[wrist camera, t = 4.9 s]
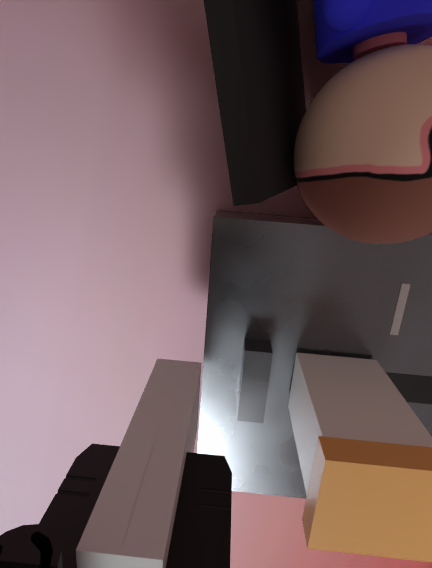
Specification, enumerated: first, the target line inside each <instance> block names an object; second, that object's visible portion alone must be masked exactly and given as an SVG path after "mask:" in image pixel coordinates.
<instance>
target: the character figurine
mask: <svg viewBox="0 0 432 568" xmlns="http://www.w3.org/2000/svg"><path fill="white" fill-rule="evenodd" d="M204 5H205V12H206V19H207V26H208V32H209V39H210V46H211V53H212V60H213V67H214V74H215V80H216V87H217V94H218V101H219V108H220V115H221V122H222V128H223V135H224V142H225V149H226V156H227V163H228V170H229V176H230V183H231V190H232V197H233V204H234V206H238V205H246V204H254V203H260V202H262V201H264V200H266V199H268V198H270V197H272V196H275V195H277V194H279V193H281V192H283V191H285V190H287V189H289V188H292V187H294V186H296V185H298V188H299V191H300V193H301V195H302V198H303V200H304V201H305V203H306V205H307V206H308V208H309V209H310V210H311V212H312V213H313V214H314V215H315V216H316V218H317V219H318V220H319V221H321V222H322V223H323V224H324V225H325V226H327V227H328V228H329V229H331V230H332V231H334V232H336V233H338V234H340V235H342V236H344V237H347V238H349V239H352V240H355V241H359V242H364V243H373V244H392V243H401V242H405V241H410V240H413V239H417V238H420V237H423V236H425V235H427V234H430V233H432V46H431V45H423V44H417V43H419V42H422V41H424V40H426V39H428V38H430V37H431V36H432V0H313V8H314V22H315V36H316V50H317V59H318V60H319V61H321V62H324V63H332V64H337V63H349V62H351V63H350V64H348V65H347V66H345V67H344V68H342V69H341V70H340V71H339V72H337V73H336V74H335V75H334V76H333V77H332V78H331V79H330V80H329V81H328V82H327V83H326V84H325V85H324V86H323V87H322V88H321V89H320V91H319V92H318V93H317V94H316V96H315V97H314V98H313V100H312V101H311V103H310V105H309V106H308V108H307V110H306V112H305V101H304V89H303V77H302V65H301V53H300V41H299V29H298V17H297V5H296V0H204Z"/></svg>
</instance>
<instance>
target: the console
mask: <svg viewBox="0 0 432 568" xmlns="http://www.w3.org/2000/svg"><path fill="white" fill-rule="evenodd" d="M296 353H307V354H318V355H328V356H339V357H350V358H361V359H371V360H377V361H378V363H379V364H380V366H381V367H382V368H383V370H384V371H385V373H386V374H387V375H388V377H389V378H390V379H391V381H392V382H393V384H394V385H395V386H396V388H397V389H398V391H399V392H400V393H401V395H402V396H403V398H404V399H405V400H406V402H407V403H408V404H409V406H410V407H411V409H412V410H413V411H414V413H415V414H416V416H417V417H418V418H419V420H420V421H421V422H422V424H423V425H424V427H425V428H426V429H427V431H428V432H429V434H430V435H431V436H432V233H430V234H427V235H425V236H423V237H420V238H417V239H413V240H410V241H405V242H401V243H392V244H373V243H364V242H359V241H355V240H352V239H349V238H347V237H344V236H342V235H340V234H338V233H336V232H334V231H332V230H331V229H329V228H328V227H327V226H325V225H324V224H323V223H322V222H321V221H319V220H318V219H315V218H303V217H290V216H278V215H265V214H253V213H240V212H228V211H216V213H215V215H214V219H213V233H212V247H211V262H210V276H209V290H208V305H207V319H206V333H205V348H204V362H203V376H202V391H201V405H200V419H199V433H198V448H197V453H200V454H210V455H220V456H225V458H226V460H227V463H228V465H229V467H230V469H231V471H232V491H239V492H248V493H258V494H267V495H276V496H286V497H295V498H305V499H306V497H307V495H306V491H305V486H304V481H303V476H302V471H301V466H300V462H299V457H298V452H297V447H296V442H295V438H294V433H293V428H292V423H291V418H290V413H289V409H288V403H289V397H290V390H291V384H292V377H293V371H294V365H295V358H296Z"/></svg>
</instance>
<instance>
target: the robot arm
mask: <svg viewBox="0 0 432 568" xmlns="http://www.w3.org/2000/svg"><path fill="white" fill-rule="evenodd" d="M200 374H201V363H199V362H188V361H177V360H167V359H157V361H156V364H155V366H154V368H153V371H152V373H151V375H150V378H149V380H148V382H147V385H146V387H145V389H144V392H143V394H142V396H141V399H140V401H139V403H138V406H137V408H136V410H135V413H134V415H133V417H132V420H131V422H130V425H129V427H128V429H127V432H126V434H125V436H124V439H123V441H122V443H121V446H120V447H119V446H109V445H100V444H91V445H90V446H89V447H88V448H87V449H86V450H84V451H83V452H82V453H81V454H80V455H79V456H78V457H76V459H75V461H74V463H73V464H72V466H71V468H70V470H69V471H68V473H67V475H66V479H64V480H63V482H62V484H61V486H60V487H59V489H58V493H57V494H56V495H55V496H54V498H53V500H52V502H51V503H50V505H49V507H48V509H47V511H46V512H45V514H44V516H43V518H42V519H41V521H40V523H39V524H35V525H23V526H20V527H17V528H15V529H12V530H9V531H7V532H5V533H4V534H2V535H1V536H0V568H230V540H231V492H232V471H231V469H230V467H229V465H228V463H227V460H226V458H225V456H220V455H210V454H200V453H193V450H194V444H195V438H196V432H197V420H198V405H199V390H200Z"/></svg>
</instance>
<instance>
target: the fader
mask: <svg viewBox="0 0 432 568" xmlns="http://www.w3.org/2000/svg"><path fill="white" fill-rule="evenodd" d="M288 409H289V413H290V418H291V423H292V428H293V433H294V438H295V442H296V447H297V452H298V457H299V462H300V466H301V471H302V476H303V481H304V486H305V491H306V495H307V497H306V502H305V508H304V513H303V518H302V521H303V527H304V532H305V538H306V544H307V548H308V549H317V550H326V551H335V552H344V553H353V554H362V555H371V556H380V557H389V558H398V559H407V560H416V561H425V562H432V436H431V435H430V434H429V432H428V431H427V429H426V428H425V427H424V425H423V424H422V422H421V421H420V420H419V418H418V417H417V416H416V414H415V413H414V411H413V410H412V409H411V407H410V406H409V404H408V403H407V402H406V400H405V399H404V398H403V396H402V395H401V393H400V392H399V391H398V389H397V388H396V386H395V385H394V384H393V382H392V381H391V379H390V378H389V377H388V375H387V374H386V373H385V371H384V370H383V368H382V367H381V366H380V364H379V363H378V361H377V360H371V359H361V358H350V357H339V356H328V355H318V354H307V353H296V358H295V365H294V371H293V377H292V384H291V390H290V397H289V403H288Z"/></svg>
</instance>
